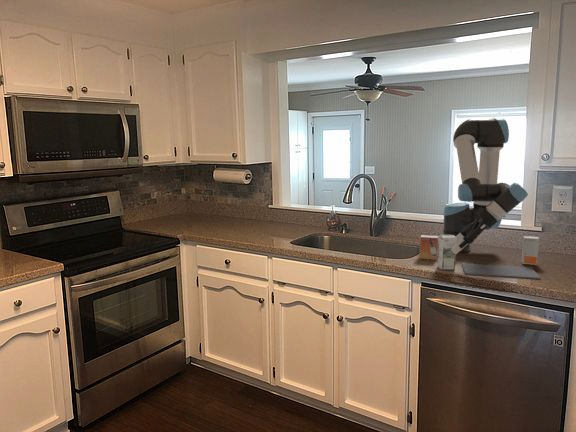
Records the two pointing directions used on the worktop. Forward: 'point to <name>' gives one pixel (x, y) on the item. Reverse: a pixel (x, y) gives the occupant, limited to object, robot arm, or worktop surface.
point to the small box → (428, 247)
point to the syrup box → (446, 252)
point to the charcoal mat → (500, 271)
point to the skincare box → (530, 250)
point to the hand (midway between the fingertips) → (452, 248)
